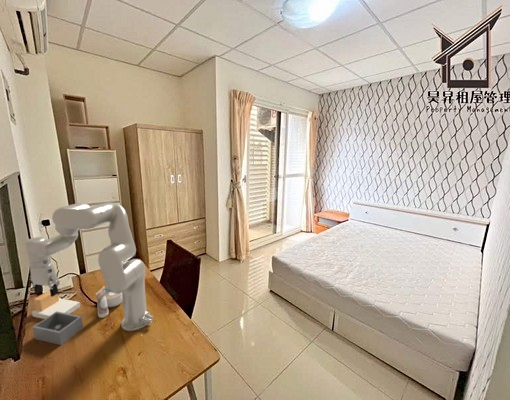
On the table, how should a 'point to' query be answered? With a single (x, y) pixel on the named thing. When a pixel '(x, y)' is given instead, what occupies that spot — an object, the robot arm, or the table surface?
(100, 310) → the cosmetic set
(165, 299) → the table surface
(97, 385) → the table surface
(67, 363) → the table surface
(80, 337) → the table surface
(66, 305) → the lid
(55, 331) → the tub
